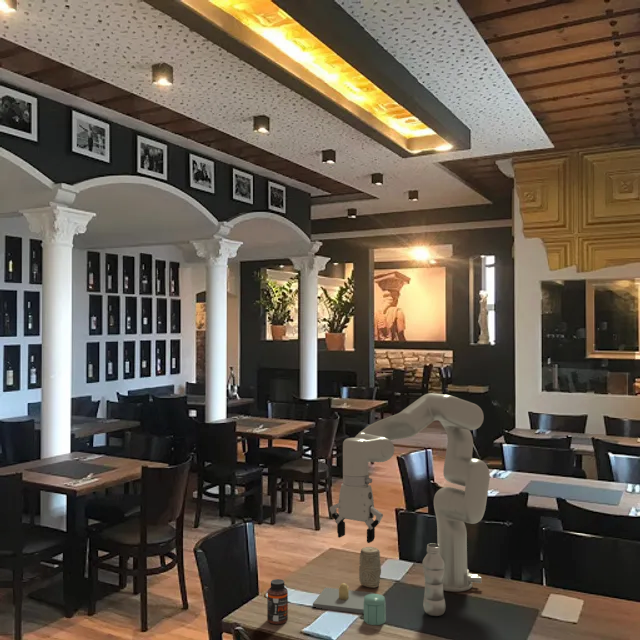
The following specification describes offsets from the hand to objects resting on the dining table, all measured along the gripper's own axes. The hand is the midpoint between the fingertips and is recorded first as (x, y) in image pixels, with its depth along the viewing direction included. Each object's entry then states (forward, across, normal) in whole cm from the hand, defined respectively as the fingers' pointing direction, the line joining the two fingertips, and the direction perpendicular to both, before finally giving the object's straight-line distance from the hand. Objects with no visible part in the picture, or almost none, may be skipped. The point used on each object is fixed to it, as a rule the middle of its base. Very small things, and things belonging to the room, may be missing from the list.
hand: (355, 539), depth 188 cm
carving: (+22, +7, -23) cm, 33 cm away
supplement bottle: (+23, +18, +14) cm, 32 cm away
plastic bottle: (+22, -19, -13) cm, 32 cm away
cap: (+22, -6, -1) cm, 23 cm away
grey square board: (+22, +8, -7) cm, 25 cm away
